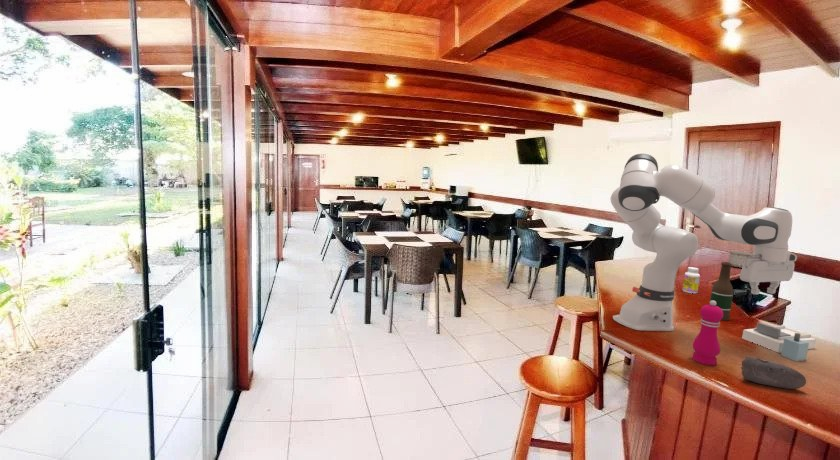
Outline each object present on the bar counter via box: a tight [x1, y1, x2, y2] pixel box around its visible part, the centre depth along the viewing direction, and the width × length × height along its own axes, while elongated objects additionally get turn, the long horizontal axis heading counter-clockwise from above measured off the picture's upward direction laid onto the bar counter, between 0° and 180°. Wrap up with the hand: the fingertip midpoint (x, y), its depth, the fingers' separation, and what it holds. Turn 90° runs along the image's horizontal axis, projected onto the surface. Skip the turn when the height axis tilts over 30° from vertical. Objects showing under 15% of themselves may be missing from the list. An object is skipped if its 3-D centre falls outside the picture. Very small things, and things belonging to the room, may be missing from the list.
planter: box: [728, 250, 753, 269], centre depth 284 cm, size 13×13×10 cm
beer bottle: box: [708, 261, 734, 321], centre depth 173 cm, size 8×8×24 cm
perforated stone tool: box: [740, 355, 807, 390], centre depth 117 cm, size 15×5×7 cm, turn 63°
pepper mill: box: [692, 300, 723, 366], centre depth 129 cm, size 7×7×20 cm
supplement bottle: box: [682, 266, 701, 294], centre depth 212 cm, size 7×7×13 cm
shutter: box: [756, 322, 791, 338], centre depth 147 cm, size 7×7×3 cm
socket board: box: [741, 325, 817, 353], centre depth 148 cm, size 18×12×4 cm, turn 106°
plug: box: [781, 332, 809, 362], centre depth 136 cm, size 4×4×8 cm
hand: (762, 293), depth 142 cm, fingers open, 6 cm apart
